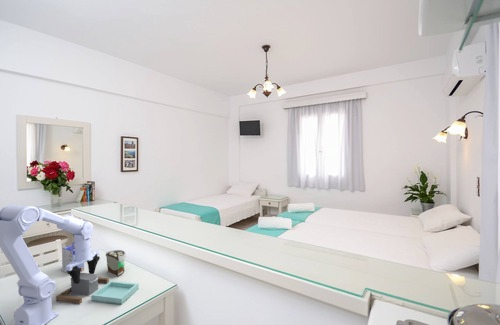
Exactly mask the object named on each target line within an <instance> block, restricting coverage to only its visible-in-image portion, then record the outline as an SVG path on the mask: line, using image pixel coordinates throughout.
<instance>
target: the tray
mask: <svg viewBox="0 0 500 325" xmlns="http://www.w3.org/2000/svg"><path fill="white" fill-rule="evenodd" d="M138 290H139V283H134V282H126V281H124V282H123V281H116V280H115V281H114V280H109V282H108V283H107V284H104V285H103V286H102V287H101V288H98V290H96V291H95V292H94V293H92V294H91V295H90V297H91V302H96V303H97V302H98V303H105V304H112V305H124V304H125V302H127V301H128V300H129V298H131V297H132V296H133V295H134V294H135V293H136V292H137V291H138Z"/></svg>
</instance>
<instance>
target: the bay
mask: <svg viewBox="0 0 500 325" xmlns="http://www.w3.org/2000/svg"><path fill="white" fill-rule="evenodd" d="M108 282H110V278H109V277H101V276H98V284H104V285H106V284H107V283H108ZM70 294H72V292H71V286H70V287H69V288H66V290H64V291H63V292H61V293H59V294H58V295H56V296H55V298H56V302H61V303H68V304H69V303H70V304H74V305H75V304H77V305H81V304H82V303H83V297H82V296H72V295H70Z"/></svg>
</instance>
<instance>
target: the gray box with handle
mask: <svg viewBox="0 0 500 325" xmlns="http://www.w3.org/2000/svg"><path fill="white" fill-rule="evenodd" d="M98 277H99V276H98V274H97V273H94V274H89V272H88V273H87V272H80V282H79V283H78V284H75V283H74V282H73V280H72V277H70V287H71V295H72V294H73V295H74V294H75V295H82V296H90V297H91V295H92V294H94V293H95V292H96V291H98V290H99V283H98Z"/></svg>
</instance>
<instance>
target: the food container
mask: <svg viewBox="0 0 500 325" xmlns="http://www.w3.org/2000/svg"><path fill="white" fill-rule="evenodd" d="M105 257H106V267H107V273H109V274H111V275H113V276H114V277H118V278H119V277H121V276H123V274H124V273H125V259H126V258H127V255H126V251H124V250H122V249H116V250H115V249H114V250H110V251H107V252H105Z"/></svg>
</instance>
